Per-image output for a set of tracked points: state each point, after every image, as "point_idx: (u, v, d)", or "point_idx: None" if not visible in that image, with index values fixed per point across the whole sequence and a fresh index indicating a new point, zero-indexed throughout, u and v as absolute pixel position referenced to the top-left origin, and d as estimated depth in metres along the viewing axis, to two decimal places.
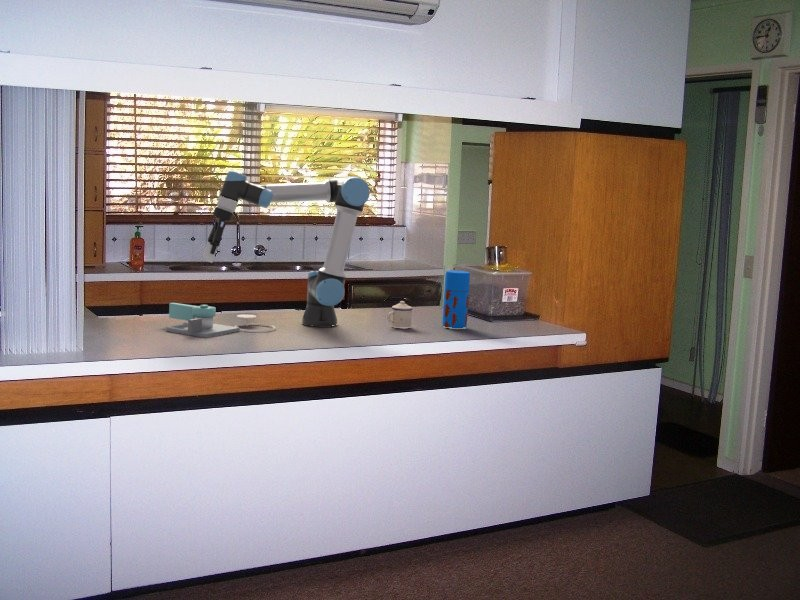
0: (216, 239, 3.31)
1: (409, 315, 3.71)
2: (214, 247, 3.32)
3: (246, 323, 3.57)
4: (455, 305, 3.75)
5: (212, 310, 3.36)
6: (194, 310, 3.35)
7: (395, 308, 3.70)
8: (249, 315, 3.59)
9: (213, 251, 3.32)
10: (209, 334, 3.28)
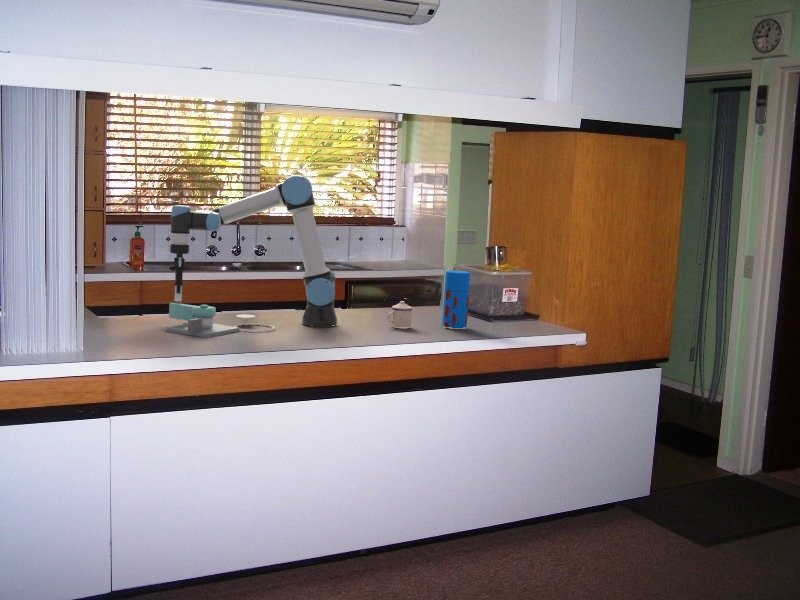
0: (178, 280, 3.47)
1: (409, 315, 3.71)
2: (178, 287, 3.49)
3: (245, 323, 3.57)
4: (455, 305, 3.75)
5: (212, 310, 3.36)
6: (194, 310, 3.35)
7: (395, 308, 3.70)
8: (248, 315, 3.59)
9: (179, 290, 3.50)
10: (209, 334, 3.28)
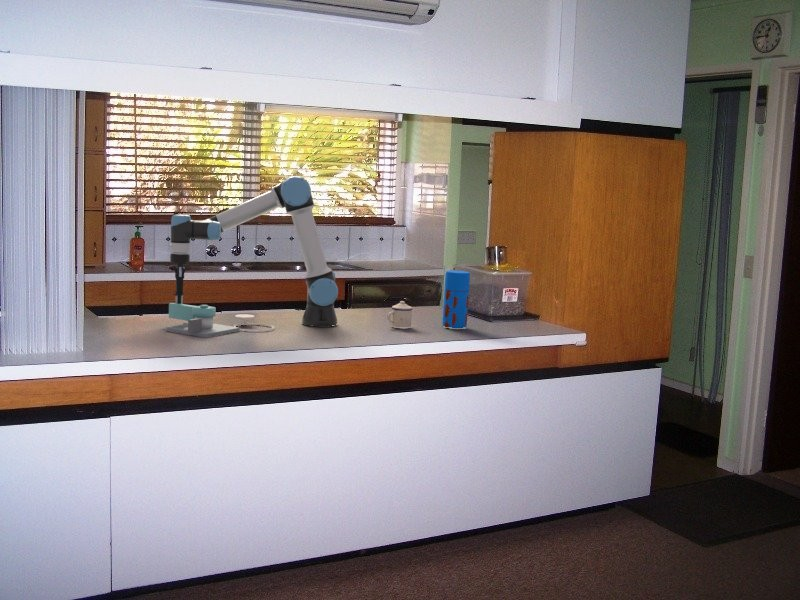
0: (178, 290, 3.43)
1: (409, 315, 3.71)
2: (179, 297, 3.46)
3: (244, 323, 3.57)
4: (455, 305, 3.75)
5: (212, 310, 3.36)
6: (194, 310, 3.35)
7: (395, 308, 3.70)
8: (247, 315, 3.59)
9: (179, 301, 3.46)
10: (209, 334, 3.28)
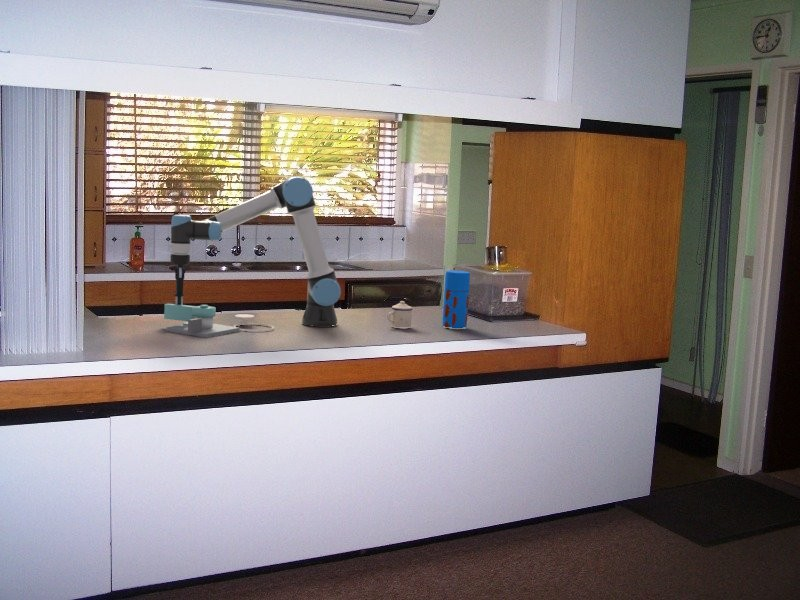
0: (178, 291, 3.40)
1: (409, 315, 3.71)
2: (179, 298, 3.42)
3: (244, 323, 3.57)
4: (455, 305, 3.75)
5: (213, 310, 3.37)
6: (196, 310, 3.35)
7: (395, 308, 3.70)
8: (247, 315, 3.59)
9: (179, 302, 3.43)
10: (209, 334, 3.28)
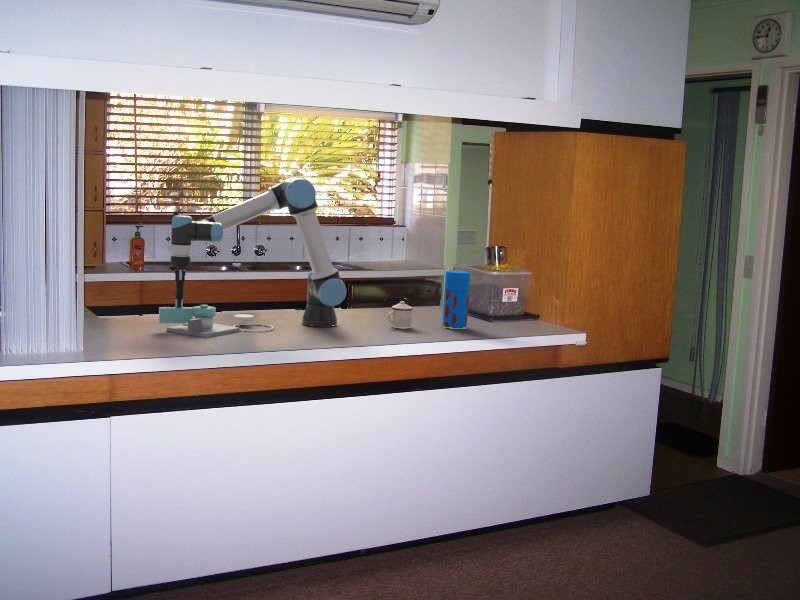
0: (178, 294, 3.32)
1: (409, 315, 3.71)
2: (179, 300, 3.35)
3: (244, 323, 3.57)
4: (455, 305, 3.75)
5: (215, 309, 3.40)
6: (202, 311, 3.34)
7: (395, 308, 3.70)
8: (246, 315, 3.59)
9: (179, 304, 3.35)
10: (209, 334, 3.28)
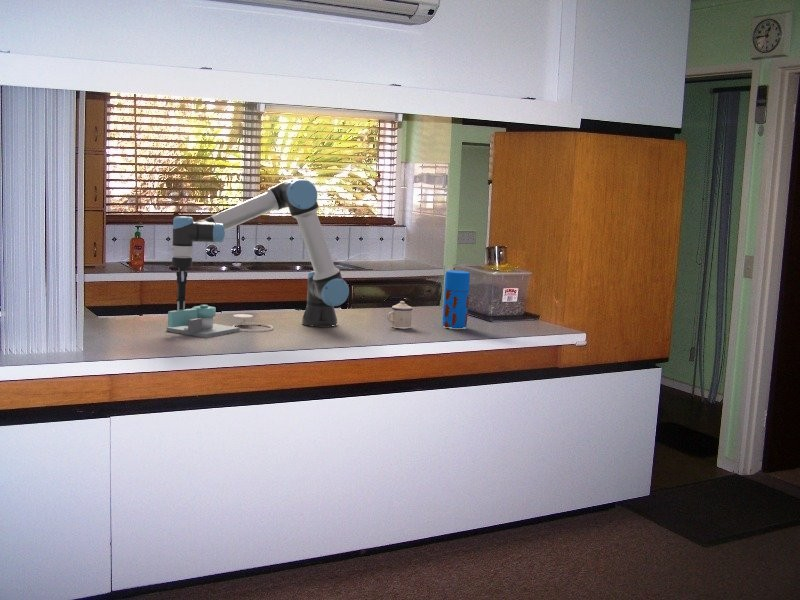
0: (180, 295, 3.28)
1: (409, 315, 3.71)
2: (181, 302, 3.31)
3: (243, 323, 3.58)
4: (455, 305, 3.75)
5: None
6: (209, 311, 3.35)
7: (395, 308, 3.70)
8: (245, 315, 3.60)
9: (181, 306, 3.31)
10: (209, 334, 3.28)
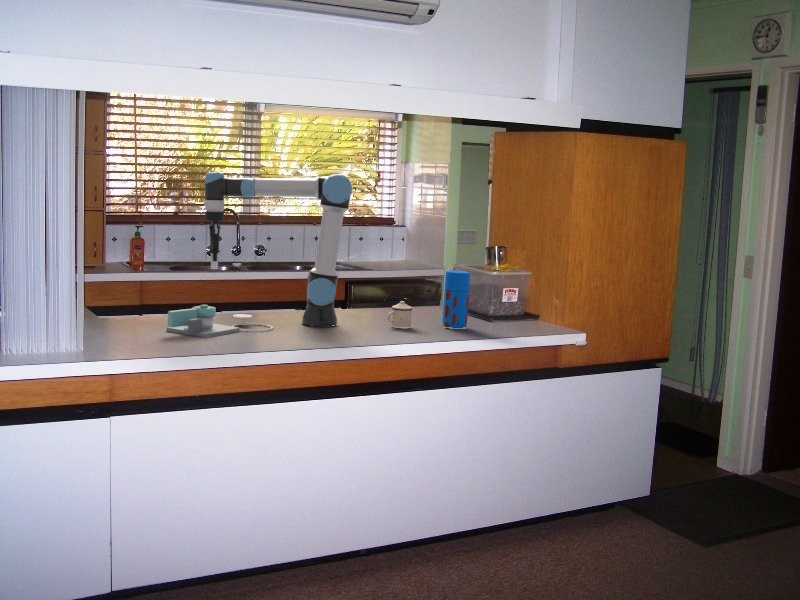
0: (214, 247, 3.45)
1: (409, 315, 3.71)
2: (215, 254, 3.48)
3: (242, 323, 3.58)
4: (455, 305, 3.75)
5: None
6: (209, 311, 3.35)
7: (395, 308, 3.70)
8: (245, 315, 3.60)
9: (215, 258, 3.48)
10: (209, 334, 3.28)
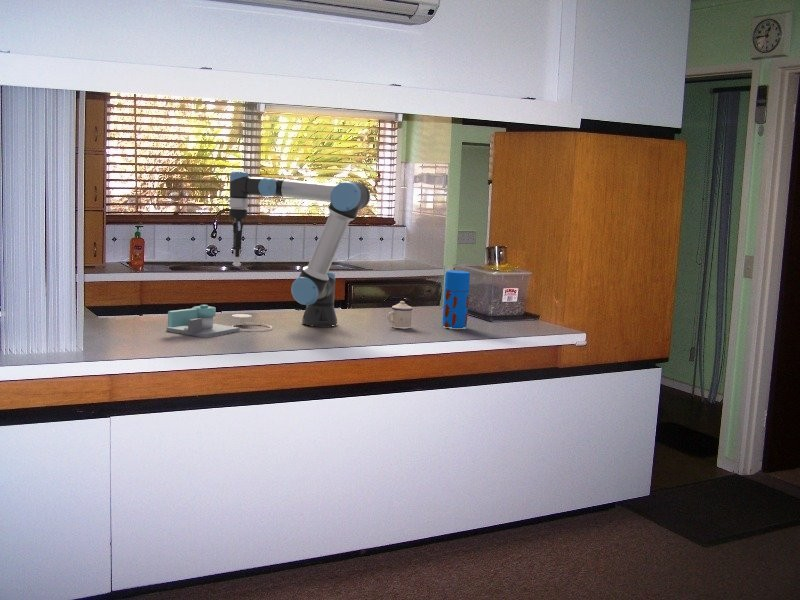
0: (237, 244, 3.59)
1: (409, 315, 3.71)
2: (237, 250, 3.62)
3: (241, 323, 3.58)
4: (455, 305, 3.75)
5: None
6: (209, 311, 3.35)
7: (395, 308, 3.70)
8: (244, 315, 3.60)
9: (237, 254, 3.62)
10: (209, 334, 3.28)
